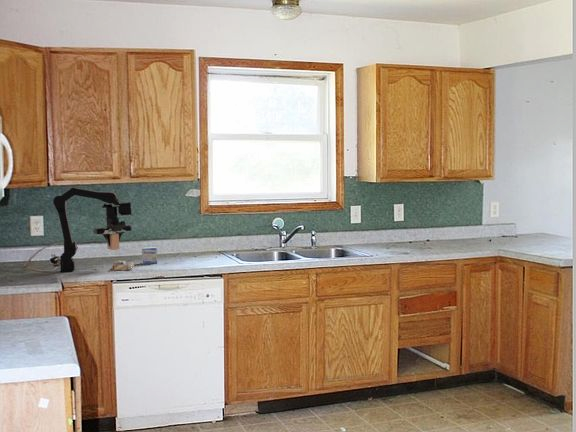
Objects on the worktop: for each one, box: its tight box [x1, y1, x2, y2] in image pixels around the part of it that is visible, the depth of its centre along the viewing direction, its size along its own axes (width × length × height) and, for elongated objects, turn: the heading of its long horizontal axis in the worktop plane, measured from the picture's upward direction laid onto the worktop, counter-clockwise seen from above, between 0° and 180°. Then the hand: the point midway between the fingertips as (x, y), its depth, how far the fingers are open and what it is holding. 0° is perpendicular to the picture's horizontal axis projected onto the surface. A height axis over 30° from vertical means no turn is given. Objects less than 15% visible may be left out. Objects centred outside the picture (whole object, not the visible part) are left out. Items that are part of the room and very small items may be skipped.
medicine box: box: [141, 246, 158, 265], centre depth 375 cm, size 8×4×9 cm, turn 106°
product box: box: [106, 232, 120, 251], centre depth 358 cm, size 7×4×8 cm, turn 35°
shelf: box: [111, 261, 135, 272], centre depth 360 cm, size 10×11×3 cm
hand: (113, 245), depth 358 cm, fingers closed on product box, 4 cm apart
